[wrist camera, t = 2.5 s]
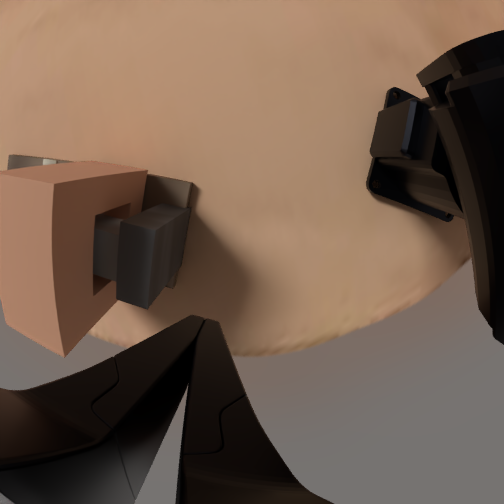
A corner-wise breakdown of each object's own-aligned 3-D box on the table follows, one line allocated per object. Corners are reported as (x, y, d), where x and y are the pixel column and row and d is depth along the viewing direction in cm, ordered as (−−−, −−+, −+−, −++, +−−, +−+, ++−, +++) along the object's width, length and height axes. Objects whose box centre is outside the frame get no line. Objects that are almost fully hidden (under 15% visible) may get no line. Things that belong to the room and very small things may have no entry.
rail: (196, 183, 15) (161, 194, 10) (178, 286, 17) (146, 334, 12) (11, 154, 15) (-38, 161, 10) (8, 230, 17) (-36, 249, 12)
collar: (147, 170, 14) (54, 184, 7) (133, 284, 16) (64, 357, 9) (91, 160, 14) (-8, 172, 7) (83, 267, 16) (6, 323, 9)
